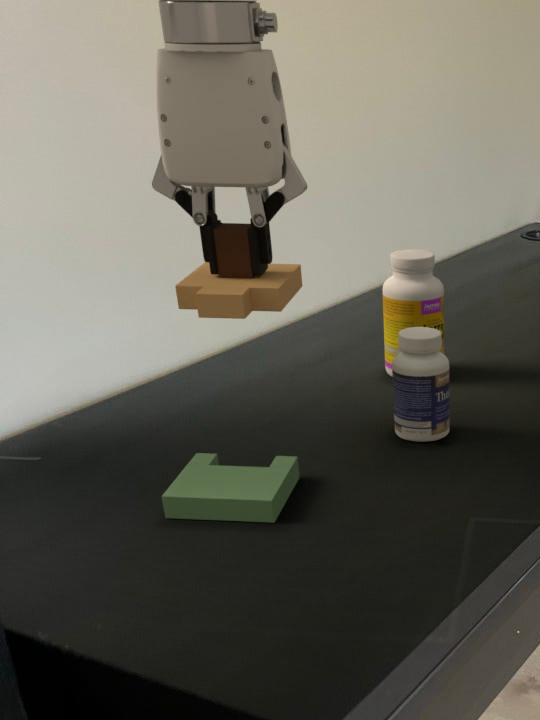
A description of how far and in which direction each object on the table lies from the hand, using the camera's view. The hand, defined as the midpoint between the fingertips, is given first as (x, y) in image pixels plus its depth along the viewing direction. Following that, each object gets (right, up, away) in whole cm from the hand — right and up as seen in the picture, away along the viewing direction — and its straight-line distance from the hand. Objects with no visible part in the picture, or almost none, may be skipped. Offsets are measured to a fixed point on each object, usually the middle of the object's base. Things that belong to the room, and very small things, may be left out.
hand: (239, 269), depth 88 cm
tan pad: (0, -3, 0) cm, 3 cm away
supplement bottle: (+14, -3, +24) cm, 28 cm away
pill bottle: (+16, -13, +8) cm, 22 cm away
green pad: (+1, -21, -4) cm, 21 cm away
